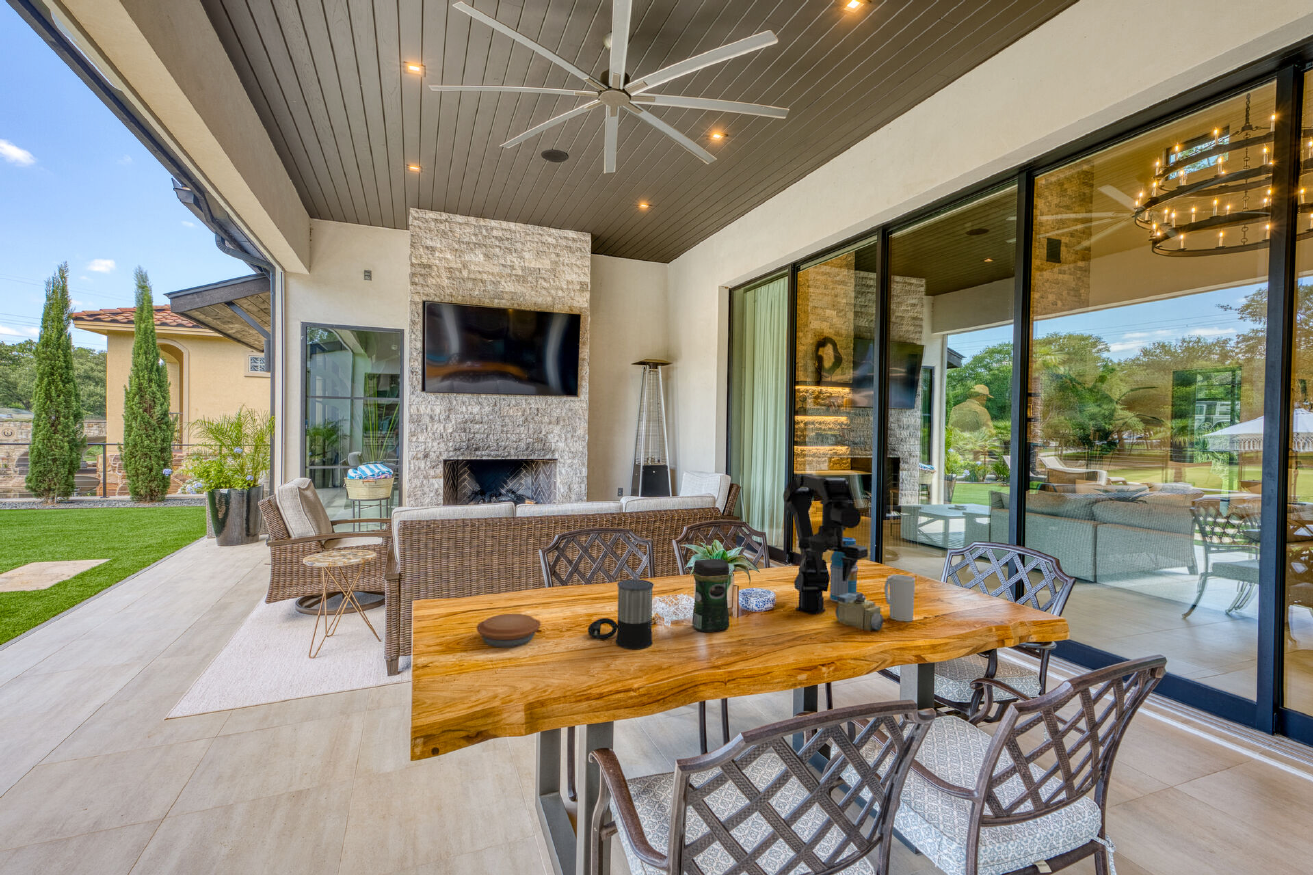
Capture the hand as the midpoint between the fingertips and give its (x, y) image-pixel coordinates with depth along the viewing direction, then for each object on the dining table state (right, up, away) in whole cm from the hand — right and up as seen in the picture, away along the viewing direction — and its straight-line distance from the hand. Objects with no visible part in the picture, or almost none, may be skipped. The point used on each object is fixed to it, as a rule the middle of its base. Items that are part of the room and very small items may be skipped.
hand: (831, 578), depth 160 cm
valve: (+8, -13, +1) cm, 15 cm away
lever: (+5, -6, -2) cm, 8 cm away
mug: (+22, -14, +9) cm, 27 cm away
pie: (-86, -11, -17) cm, 88 cm away
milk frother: (-58, -12, -16) cm, 61 cm away
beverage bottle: (+11, -14, +24) cm, 30 cm away
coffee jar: (-34, -12, -5) cm, 37 cm away
